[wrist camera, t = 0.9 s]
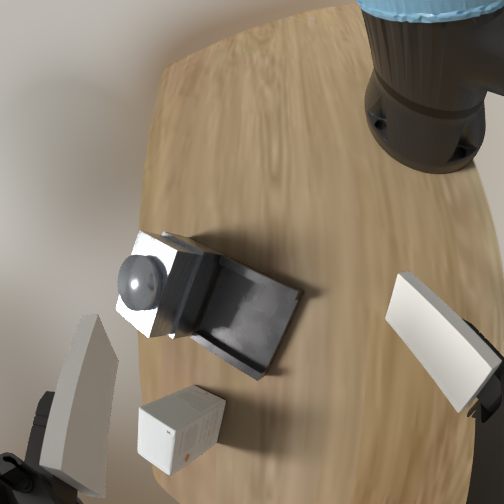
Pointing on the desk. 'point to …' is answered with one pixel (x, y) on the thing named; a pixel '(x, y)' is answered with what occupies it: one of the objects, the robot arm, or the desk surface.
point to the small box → (179, 427)
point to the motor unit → (206, 300)
